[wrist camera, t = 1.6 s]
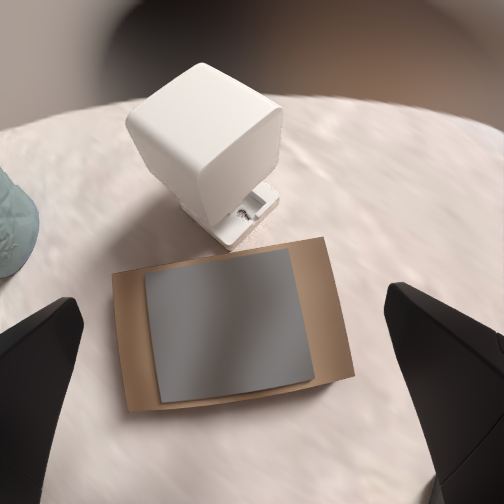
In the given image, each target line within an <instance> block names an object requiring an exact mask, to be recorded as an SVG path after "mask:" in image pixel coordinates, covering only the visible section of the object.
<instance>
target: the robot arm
mask: <svg viewBox="0 0 504 504" xmlns="http://www.w3.org/2000/svg"><path fill="white" fill-rule="evenodd" d="M384 316H385V319H386V323H387V326H388V330H389V333H390V337H391V340H392V344H393V348H394V351H395V355H396V358H397V361H398V364H399V367H400V369H401V372H402V374H403V377H404V380H405V382H406V385H407V387H408V390H409V393H410V396H411V398H412V401H413V404H414V407H415V410H416V412H417V415H418V418H419V421H420V424H421V427H422V430H423V433H424V436H425V439H426V442H427V445H428V449H429V452H430V455H431V458H432V461H433V465H434V468H435V472H436V475H437V479H438V482H439V485H440V490H441V494H442V498H443V501H444V504H504V336H503V335H502V334H500V333H496V331H494V330H492V329H491V328H489V327H487V326H485V325H483V324H482V323H480V322H478V321H476V320H474V319H472V318H471V317H469V316H467V315H465V314H463V313H461V312H460V311H458V310H456V309H454V308H452V307H450V306H448V305H446V304H445V303H443V302H441V301H439V300H437V299H435V298H433V297H431V296H429V295H427V294H425V293H424V292H422V291H420V290H418V289H416V288H414V287H412V286H410V285H408V284H406V283H404V282H397V283H391V284H390V285H389V287H388V290H387V295H386V300H385V305H384ZM83 328H84V321H83V318H82V315H81V313H80V310H79V307H78V305H77V302H76V300H75V299H74V298H72V297H62V298H60V299H58V300H56V301H55V302H53V303H51V304H49V305H48V306H46V307H44V308H43V309H41V310H39V311H37V312H36V313H34V314H32V315H31V316H29V317H27V318H26V319H24V320H22V321H21V322H19V323H17V324H16V325H14V326H12V327H11V328H9V329H8V330H6V331H4V332H3V333H1V334H0V504H40V499H41V494H42V487H43V482H44V477H45V472H46V467H47V463H48V458H49V454H50V450H51V446H52V442H53V438H54V434H55V430H56V426H57V422H58V419H59V415H60V412H61V408H62V405H63V401H64V398H65V395H66V392H67V388H68V385H69V382H70V379H71V376H72V372H73V369H74V365H75V361H76V357H77V352H78V348H79V344H80V340H81V336H82V332H83Z"/></svg>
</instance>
